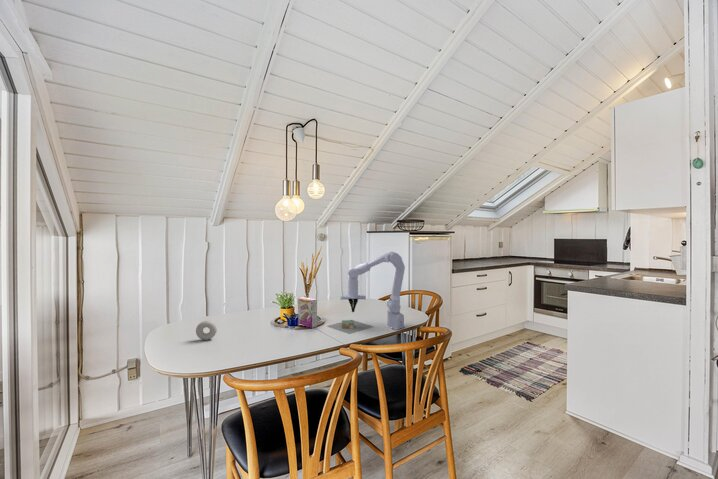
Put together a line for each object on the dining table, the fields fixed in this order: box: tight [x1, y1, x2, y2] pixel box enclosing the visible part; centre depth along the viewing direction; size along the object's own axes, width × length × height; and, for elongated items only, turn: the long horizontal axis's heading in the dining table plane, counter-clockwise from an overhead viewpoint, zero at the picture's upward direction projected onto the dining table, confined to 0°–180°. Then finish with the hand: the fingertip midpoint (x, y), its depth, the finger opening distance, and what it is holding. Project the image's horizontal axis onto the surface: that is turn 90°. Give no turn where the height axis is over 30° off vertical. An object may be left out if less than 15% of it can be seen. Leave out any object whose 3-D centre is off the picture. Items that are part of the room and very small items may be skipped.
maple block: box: [341, 319, 355, 329], centre depth 195 cm, size 3×6×7 cm
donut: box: [195, 320, 218, 341], centre depth 173 cm, size 10×4×10 cm, turn 104°
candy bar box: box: [297, 296, 318, 329], centre depth 198 cm, size 11×5×16 cm, turn 58°
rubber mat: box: [326, 320, 375, 335], centre depth 196 cm, size 20×20×1 cm
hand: (353, 311), depth 195 cm, fingers closed
